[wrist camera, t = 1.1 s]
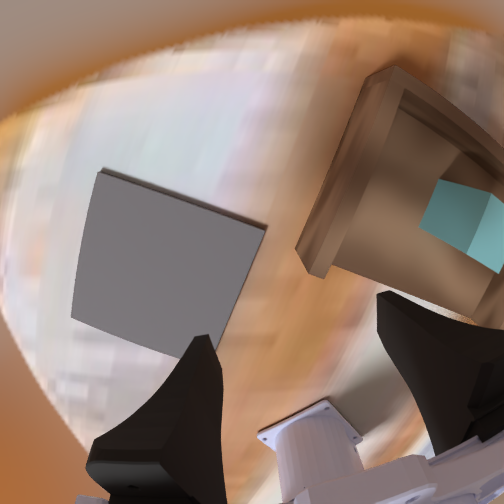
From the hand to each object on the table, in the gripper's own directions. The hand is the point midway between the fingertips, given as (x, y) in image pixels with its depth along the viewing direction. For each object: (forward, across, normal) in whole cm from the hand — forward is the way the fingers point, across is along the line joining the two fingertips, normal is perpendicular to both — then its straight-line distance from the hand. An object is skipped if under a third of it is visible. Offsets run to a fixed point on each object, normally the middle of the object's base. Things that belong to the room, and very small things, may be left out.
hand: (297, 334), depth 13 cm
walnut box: (+10, -14, +1) cm, 17 cm away
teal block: (+9, -14, 0) cm, 17 cm away
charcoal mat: (+10, +8, 0) cm, 13 cm away
